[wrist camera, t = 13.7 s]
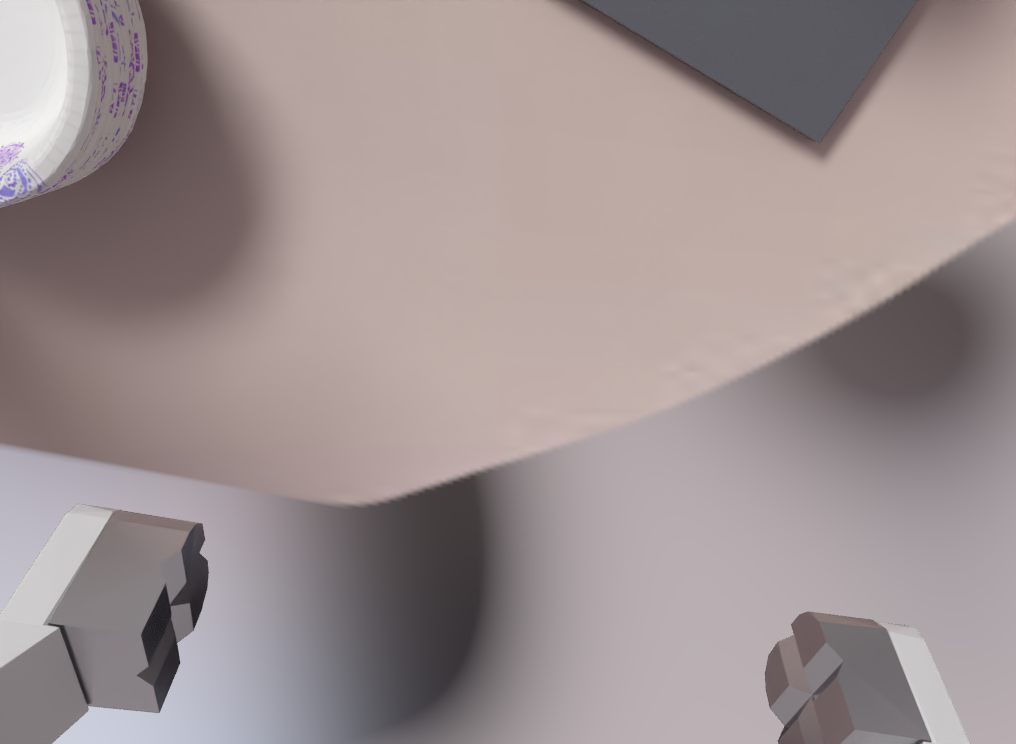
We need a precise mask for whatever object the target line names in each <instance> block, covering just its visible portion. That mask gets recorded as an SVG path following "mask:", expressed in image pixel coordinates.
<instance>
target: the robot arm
mask: <svg viewBox="0 0 1016 744" xmlns="http://www.w3.org/2000/svg"><path fill="white" fill-rule="evenodd" d="M204 541H205V536H204V530H203V525H202V524H201V523H195V522H189V521H183V520H177V519H170V518H164V517H158V516H152V515H146V514H140V513H133V512H127V511H122V510H117V509H111V508H103V507H97V506H90V505H83V504H77V505H76V506H75V507H74V508H73V509H71V510H70V511H69V512H68V513H67V514H65V516H64V517H63V519H62V520H61V522H60V523H59V525H58V526H57V528H56V529H55V531H54V532H53V534H52V535H51V537H50V538H49V540H48V542H47V543H46V545H45V546H44V548H43V549H42V551H41V552H40V554H39V555H38V557H37V558H36V560H35V561H34V563H33V565H32V566H31V568H30V569H29V571H28V572H27V574H26V575H25V577H24V578H23V580H22V581H21V583H20V585H19V586H18V587H17V589H16V591H15V592H14V594H13V595H12V597H11V598H10V600H9V601H8V603H7V604H6V606H5V607H4V609H3V610H2V612H1V613H0V744H52V743H53V742H54V741H55V740H56V739H57V738H58V737H60V735H62V734H63V733H64V732H65V731H66V730H67V729H69V728H70V726H72V725H73V724H74V723H75V722H76V721H78V720H79V719H80V718H81V717H82V716H83V715H84V714H85V713H86V712H87V711H88V706H93V707H103V708H113V709H124V710H134V711H144V712H154V713H159V712H160V710H161V708H162V705H163V703H164V701H165V698H166V696H167V693H168V691H169V689H170V686H171V684H172V681H173V679H174V676H175V674H176V672H177V669H178V667H179V664H180V659H179V652H178V646H177V643H178V642H179V641H180V640H182V639H183V638H184V637H186V636H187V635H188V634H190V633H191V632H192V631H194V628H195V625H196V623H197V620H198V618H199V615H200V613H201V610H202V606H203V602H204V598H205V595H206V591H207V585H208V573H209V572H208V561H207V560H206V559H205V558H204V557H203V556H202V555H201V554H200V553H199V552H200V550H201V548H202V545H203V543H204ZM791 626H792V629H793V633H794V635H793V636H791V637H788V638H786V639H783V640H781V641H779V642H777V644H776V645H775V647H774V648H773V650H772V651H771V653H770V654H769V656H768V661H767V666H766V671H765V682H766V693H767V697H768V701H769V706H770V709H771V710H772V711H773V712H774V714H775V715H776V716H777V717H778V719H779V720H780V721H781V722H782V723H783V725H784V729H783V731H782V733H781V735H780V737H779V740H778V743H779V744H970V742H969V740H968V738H967V735H966V733H965V731H964V729H963V726H962V724H961V722H960V720H959V717H958V715H957V713H956V711H955V708H954V706H953V704H952V702H951V699H950V697H949V695H948V693H947V690H946V688H945V686H944V684H943V682H942V679H941V677H940V675H939V672H938V670H937V668H936V666H935V663H934V661H933V659H932V657H931V655H930V652H929V650H928V648H927V645H926V643H925V641H924V639H923V637H922V635H921V634H920V633H919V632H918V631H917V630H916V629H915V628H914V627H910V626H906V625H899V624H891V623H883V622H875V621H874V620H869V619H862V618H854V617H847V616H838V615H831V614H823V613H815V612H805V613H802V614H800V615H799V616H798V617H797V618H796V619H795V620H794V622H793V623H792V624H791Z"/></svg>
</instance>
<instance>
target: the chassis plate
mask: <svg viewBox="0 0 1016 744" xmlns="http://www.w3.org/2000/svg"><path fill="white" fill-rule="evenodd" d="M581 1H582V2H584V3H586V4H587V5H589V6H591V7H592V8H594V9H596V10H597V11H599V12H601V13H602V14H604V15H606V16H607V17H609V18H611V19H612V20H614V21H615V22H617V23H619V24H620V25H622V26H624V27H625V28H627V29H629V30H630V31H632V32H634V33H635V34H637V35H639V36H640V37H642V38H644V39H645V40H647V41H649V42H650V43H652V44H654V45H655V46H657V47H659V48H660V49H662V50H664V51H665V52H667V53H668V54H670V55H672V56H673V57H675V58H677V59H678V60H680V61H682V62H683V63H685V64H687V65H688V66H690V67H692V68H693V69H695V70H697V71H698V72H700V73H702V74H703V75H705V76H707V77H708V78H710V79H712V80H713V81H715V82H717V83H718V84H720V85H722V86H723V87H725V88H726V89H728V90H730V91H731V92H733V93H735V94H736V95H738V96H740V97H741V98H743V99H745V100H746V101H748V102H750V103H751V104H753V105H755V106H756V107H758V108H760V109H761V110H763V111H765V112H766V113H768V114H770V115H771V116H773V117H775V118H776V119H778V120H779V121H781V122H783V123H784V124H786V125H788V126H789V127H791V128H793V129H794V130H796V131H798V132H799V133H801V134H803V135H804V136H806V137H808V138H809V139H811V140H813V141H815V142H818V143H820V141H821V140H822V138H823V137H824V136H825V134H826V133H827V131H828V130H829V128H830V127H831V125H832V124H833V122H834V121H835V120H836V118H837V117H838V115H839V114H840V112H841V111H842V109H843V108H844V106H845V105H846V103H847V102H848V101H849V99H850V98H851V96H852V95H853V93H854V92H855V90H856V89H857V87H858V86H859V85H860V83H861V82H862V80H863V79H864V77H865V76H866V74H867V73H868V71H869V70H870V68H871V67H872V66H873V64H874V63H875V61H876V60H877V58H878V57H879V55H880V54H881V52H882V51H883V49H884V48H885V47H886V45H887V44H888V42H889V41H890V39H891V38H892V36H893V35H894V33H895V32H896V31H897V29H898V28H899V26H900V25H901V23H902V22H903V20H904V19H905V17H906V16H907V14H908V13H909V12H910V10H911V9H912V7H913V6H914V4H915V3H916V1H917V0H581Z"/></svg>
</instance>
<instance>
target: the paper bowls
mask: <svg viewBox="0 0 1016 744" xmlns="http://www.w3.org/2000/svg"><path fill="white" fill-rule="evenodd" d="M147 64H148V56H147V39H146V30H145V24H144V20H143V16H142V12H141V8H140V5H139V2H138V0H0V208H2V207H6V206H10V205H13V204H16V203H20V202H22V201H25V200H27V199H31V198H34V197H38V196H41V195H43V194H46V193H49V192H52V191H55V190H57V189H60V188H63V187H65V186H68V185H70V184H73V183H75V182H77V181H79V180H81V179H83V178H84V177H86V176H89V175H90V174H91V173H93V172H94V171H96V170H98V169H99V168H100V167H101V166H102V165H104V164H105V163H107V162H108V161H109V160H110V159H111V158H112V157H113V156H114V155H115V154H116V153H117V152H118V151H119V149H120V148H121V147H122V145H123V144H124V143H125V141H126V140H127V138H128V137H129V134H130V133H131V132H132V130H133V127H134V124H135V122H136V119H137V116H138V113H139V110H140V108H141V105H142V101H143V96H144V90H145V83H146V79H147Z"/></svg>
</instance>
